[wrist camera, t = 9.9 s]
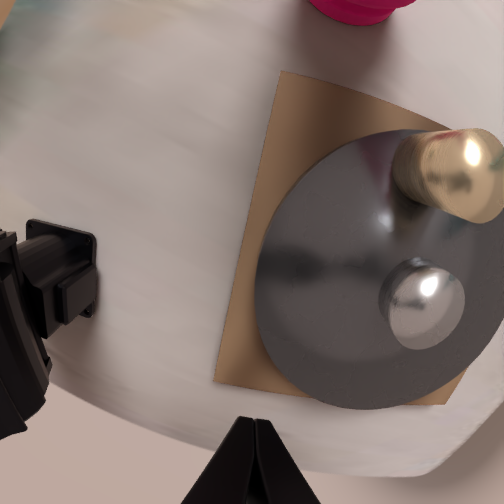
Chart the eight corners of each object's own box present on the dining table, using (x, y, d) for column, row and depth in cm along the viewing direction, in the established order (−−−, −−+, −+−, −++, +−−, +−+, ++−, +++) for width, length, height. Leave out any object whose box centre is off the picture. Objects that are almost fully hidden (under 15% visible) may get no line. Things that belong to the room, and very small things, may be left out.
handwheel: (474, 373, 20) (512, 425, 13) (261, 403, 21) (258, 479, 14) (514, 147, 14) (585, 155, 8) (246, 128, 15) (233, 108, 9)
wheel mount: (216, 368, 22) (213, 380, 21) (279, 77, 16) (280, 70, 15) (438, 394, 22) (444, 404, 21) (524, 177, 16) (536, 179, 15)
